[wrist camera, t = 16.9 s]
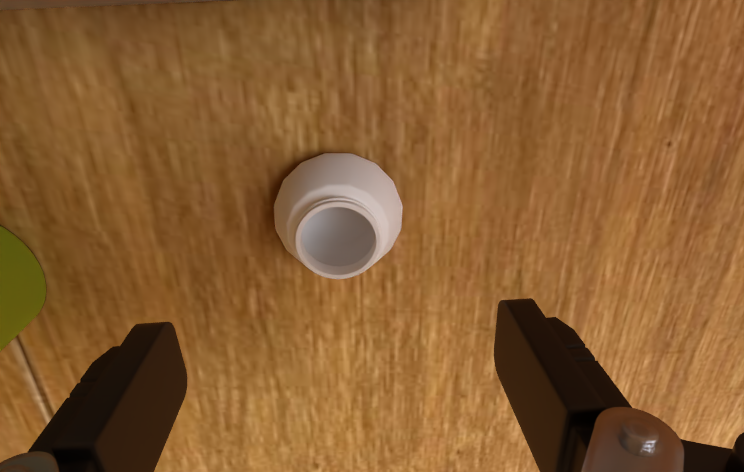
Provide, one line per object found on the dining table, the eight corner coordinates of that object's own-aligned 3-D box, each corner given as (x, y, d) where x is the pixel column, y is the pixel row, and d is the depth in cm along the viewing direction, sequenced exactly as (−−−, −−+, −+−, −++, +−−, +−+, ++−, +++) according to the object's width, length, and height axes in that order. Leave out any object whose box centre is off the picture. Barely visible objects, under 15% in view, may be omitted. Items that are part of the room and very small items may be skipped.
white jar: (260, 240, 19) (369, 279, 20) (247, 276, 16) (373, 318, 18) (302, 129, 17) (420, 179, 18) (295, 150, 15) (433, 206, 16)
